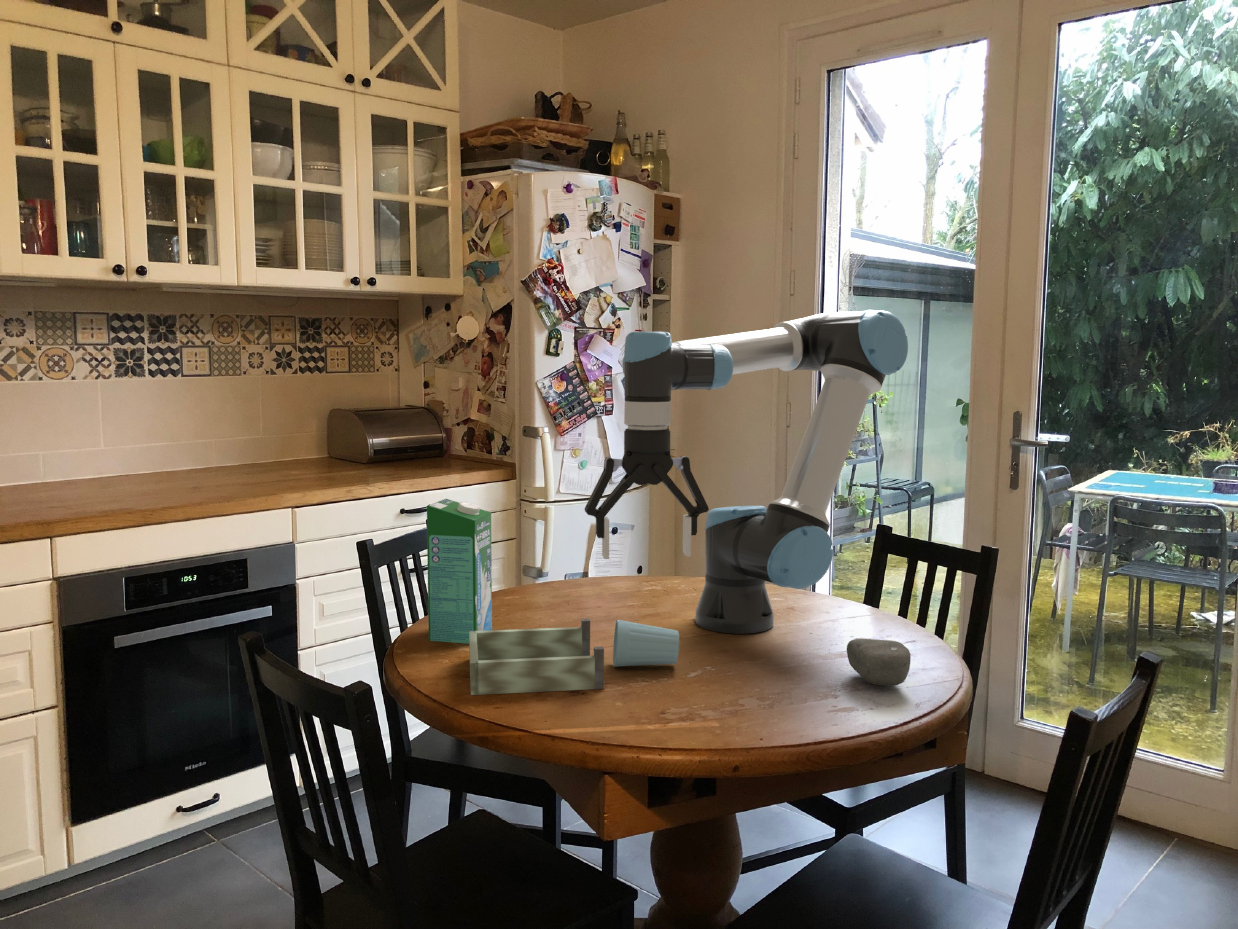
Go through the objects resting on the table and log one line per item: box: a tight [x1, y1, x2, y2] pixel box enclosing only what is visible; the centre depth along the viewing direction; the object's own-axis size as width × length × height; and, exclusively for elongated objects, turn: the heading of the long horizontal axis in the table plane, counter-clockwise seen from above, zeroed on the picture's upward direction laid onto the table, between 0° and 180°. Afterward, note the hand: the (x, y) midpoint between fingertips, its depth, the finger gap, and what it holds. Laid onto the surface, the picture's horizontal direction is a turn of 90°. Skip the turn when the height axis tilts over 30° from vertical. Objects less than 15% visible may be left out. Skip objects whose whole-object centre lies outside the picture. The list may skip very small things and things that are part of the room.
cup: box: [612, 619, 680, 667], centre depth 162 cm, size 8×8×10 cm
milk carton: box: [426, 498, 493, 645], centre depth 178 cm, size 9×9×25 cm
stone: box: [846, 638, 911, 687], centre depth 156 cm, size 9×9×10 cm
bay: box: [468, 618, 605, 696], centre depth 158 cm, size 20×18×6 cm
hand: (646, 556), depth 160 cm, fingers open, 13 cm apart
